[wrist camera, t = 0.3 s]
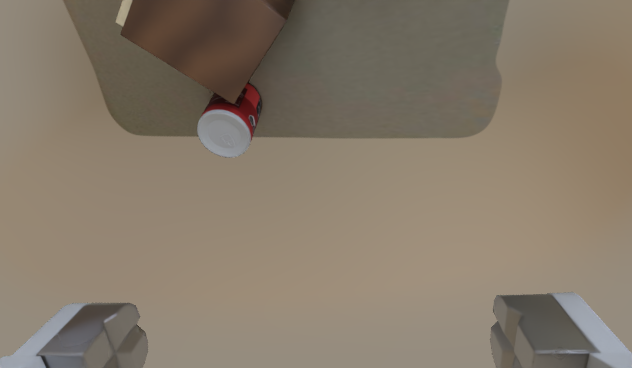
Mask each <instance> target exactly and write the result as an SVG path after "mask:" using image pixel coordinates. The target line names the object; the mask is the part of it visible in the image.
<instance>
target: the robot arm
mask: <svg viewBox="0 0 632 368" xmlns="http://www.w3.org/2000/svg"><path fill="white" fill-rule="evenodd" d="M493 312H494V314H495V316H496V318H497V320H498V321H497V322H496V323H495V324H494V325H493V326H492V327H491V338H490V342H491V349H492V355H493V359H494V362H495V365H496V367H497V368H632V353H631V352H630V351H629V350H628V349H627V348H626V347H625V346H624V344H623V343H622V342H621V341H620V340H619V339H618V338H617V337H616V336H615V335H614V333H613V332H612V331H611V330H610V329H609V328H608V327H607V326H606V325H605V324H604V322H603V321H602V320H601V319H600V318H599V317H598V316H597V315H596V313H595V312H594V311H593V310H592V309H591V308H590V307H589V306H588V305H587V304H586V303H585V301H584V300H583V299H582V298H581V297H580V296H579V295H577V294H575V293H573V292H568V293H548V294H536V295H535V294H534V295H497V296H496V298H495V300H494V306H493ZM139 318H140V315H139V313H138V310H137V308H136V306H135V305H133V304H131V303H72V304H69V305H66V306H64V307H63V308H62V309H61V310H59V312H57V313H56V314H55V315H54V316H53V317H52V318H51V319H50V320H49V321H48V322H47V323H46V324H45V325H44V326H42V327H41V328H40V329H39V330H38V331H37V332H36V333H35V334H34V335H33V336H32V337H31V338H30V339H29V340H28V341H27V342H25V343H24V344H23V345H22V346H21V347H20V348H19V349H18V350H17V351H16V352H15V353H14V354H13V355H12V356H4V357H2V358H0V368H142V367H143V365H144V363H145V360H146V356H147V352H148V340H147V337H146V333H145V331H143V330H142V329H141V328H140V327H139V326H138V325H137V322H138V320H139Z"/></svg>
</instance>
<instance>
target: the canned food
mask: <svg viewBox="0 0 632 368" xmlns="http://www.w3.org/2000/svg"><path fill="white" fill-rule="evenodd" d="M261 108H262V104H261V99H260V96H259V94H258V92H257V91H256V89H255V88H254V87H253V86H252V85H250V84H249V83H247V84H246V85H245V87H244V89H243V90H242V92H241V93H240V95H239V96H238V98H237V99H236V101H235V103H234V104H232V103H231V102H229V101H227V100H226V99H224V98H223V97H221V96H219V95H218V94H216V93H214V95H213V97H212V99H211V100H210V102H209V104H208V105H207V107H206V109H205V110H204V112H203V114H202V116H201V118H200V120H199V122H198V126H197V133H198V137H199V139H200V141H201V142H202V144H203V145H204V146H205V147H206V148H207V149H208V150H209V151H211V152H212V153H214V154H216V155H219V156H222V157H229V158H230V157H237V156H240V155H241V154H243V153H244V152H245V151H246V150H247V148H248V147H249V145H250V142H251V140H252V137H253V134H254V131H255V128H256V125H257V122H258V119H259V116H260V112H261Z"/></svg>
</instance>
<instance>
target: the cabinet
mask: <svg viewBox="0 0 632 368" xmlns="http://www.w3.org/2000/svg"><path fill="white" fill-rule="evenodd" d="M293 3H294V0H132V3H131V6H130V9H129V12H128V14H127V17H126V20H125V23H124V26H123V28H122V31H121V35H122V36H123V37H125V38H127V39H128V40H130V41H132V42H133V43H135V44H136V45H138V46H140V47H141V48H143V49H145V50H146V51H148V52H149V53H151V54H153V55H154V56H156V57H158V58H159V59H161V60H162V61H164V62H166V63H167V64H169V65H171V66H172V67H174V68H175V69H177V70H179V71H180V72H182V73H184V74H185V75H187V76H188V77H190V78H192V79H193V80H195V81H197V82H198V83H200V84H201V85H203V86H205V87H206V88H208V89H210V90H211V91H213V92H214V93H216V94H218V95H219V96H221V97H223V98H224V99H226V100H227V101H229V102H231V103H232V104H234V103H235V101H236V99H237V98H238V96H239V95H240V93H241V92H242V90H243V89H244V87H245V85H246V84H247V82H248V81H249V79H250V78H251V76H252V74H253V73H254V71H255V70H256V68H257V67H258V65H259V64H260V62H261V60H262V59H263V57H264V56H265V54H266V53H267V51H268V49H269V48H270V46H271V45H272V43H273V42H274V40H275V39H276V37H277V35H278V34H279V32H280V31H281V29H282V28H283V26H284V25H285V23H286V21H287V19H288V16H289V13H290V11H291V8H292V5H293Z"/></svg>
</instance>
